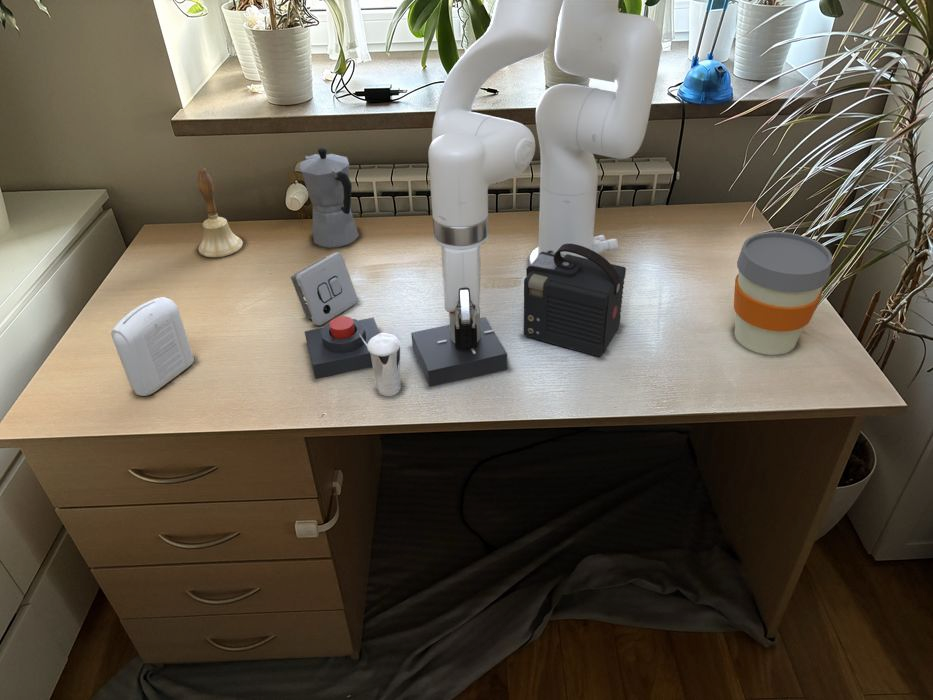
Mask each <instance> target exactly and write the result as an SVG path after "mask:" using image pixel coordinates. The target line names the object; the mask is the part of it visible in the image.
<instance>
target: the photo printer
mask: <svg viewBox="0 0 933 700" xmlns="http://www.w3.org/2000/svg"><path fill="white" fill-rule="evenodd" d="M110 336H111V339H112V341H113V342H112V343H113V344H114V347H115V349H116V352H117V354H118V357H119V360H120V363H121V364H122V367H123V371H124V373H125V375H126V378H127V380H128V383H129V385H130V387H131V389H132V390H133V392H134V394H136V395H137V396H141V397H147V396H150V395H153V394H154V393H155V392H157V391H159V390H160V389H161V388H163V387H164V386H166V385H167V384H168V383H169V382H171V381H173V379H175V378H176V377H178V376H179V375H180V374H181V373H182V372H184V371H185V370H187V369H188V368H189V367H191V365H193V364H194V362H195V358H194V353H193V352H192V349H191V345H190V341H189V337H188V336H187V331H186V329H185V325H184V323H183V319H182V316H181V313H180V310H179V308H178V306H177V305H176V303H175V302H174V301H173V300H172V299H171V298H169V297H168V298H167V297H166V296H161V297H157V298H153V299H150V300H147V301H146V302H143V303H142V304H140V305H138V306H136V307H135V308H133V309H132V310H130V311H129V312H128V313H127V314H125V315H124V316H123V317H121V319H120V320H119V321H118V322H117V323H116V324H115V326H114V327H113V328H112V329H111V332H110Z"/></svg>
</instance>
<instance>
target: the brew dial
mask: <svg viewBox="0 0 933 700" xmlns="http://www.w3.org/2000/svg"><path fill="white" fill-rule="evenodd" d="M457 305H458V307H459V306H461V303H458V304H457ZM469 306H472V304H471V302H469ZM460 318H461V312H459V319H460ZM470 318H471V311H470ZM480 318H481V307H480V306H479V308H478V309H477V310H476V311H475V324H477V342H478V341H479V340H480V338H481V323H480ZM448 319H449V320H448V321H449V325H450V338H451V340H452V341H453V342H454V343H455V329H454V325H456V314H455V310H454V312H448Z"/></svg>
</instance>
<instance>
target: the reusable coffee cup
mask: <svg viewBox="0 0 933 700" xmlns="http://www.w3.org/2000/svg"><path fill="white" fill-rule="evenodd" d="M832 264H833V254H832V253H831V251H830V249H828V248H827V247H826V246H825V245H824V244H822V243H821V242H819V241H817V240H815V239H813V238H811V237H808V236H805V235H801V234H798V233H792V232H788V231H787V232H786V231H785V232H784V231H769V232H768V231H767V232H761V233H755V234H753V235H751V236H750V237H748V238H747V239H745V241H744V242H743V244H742V247H741V250H740V252H739V255H738V258H737V261H736V267H737V269H738V273H737V274H736V275H735V276H736V277H735V279H734V292H733V293H734V294H733V310H734V313H735V323H734V337H735V339H736V341H737V342H738V344H740V345H741V346H743V347H744V348H745V349H747V350H749V351H751V352H754V353H757V354H761V355H766V356H767V355H769V356H777V355H778V356H779V355H783V354H784V355H785V354H787V353H790V352H791V351H793V349H794V348H795V346H796V345H797V343H798V340H799V338H800V336H801V334H802V332H803V330H804V328H805V327H806V326H807V325H809V323H810V322H811V320H812V318H813V316H814V314H815V311H816V310H817V307H818V306H819V303H820V301H821V299H822V296H823V288H824V286H825V285H826V284H827V283H828V282H829V281H830V276H831V270H832Z"/></svg>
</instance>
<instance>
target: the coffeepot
mask: <svg viewBox="0 0 933 700" xmlns="http://www.w3.org/2000/svg"><path fill="white" fill-rule="evenodd" d="M317 152H318V154H317V153H314V154H313V153H311V154H309V155H305V156H304V157H305V160H303V161H301V162H300V163H299V168H300V172H301V176H302V179H303V181H304V184H305V188H306V190H307V194H308V197H309V199H310V202H311V204H312V238H313V243H314V244H315V245H317V246H319V247H322V248H327V249H329V248H330V249H335V248H336V249H337V248H342V247H346V246H348V245H350V244H353V243H354V242H355V241H356V240H357V239H358V238H359V232H358V229H357V225H356V223H355V219H354V216H353V213H352V209H351V204H352V203H351V202H352V190H353V184H352V181H351V179H350V163H349V159H348V157H347V156H343V155H339V154H335V153H328V154H327V148H326V147H320V148H318V149H317Z"/></svg>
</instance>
